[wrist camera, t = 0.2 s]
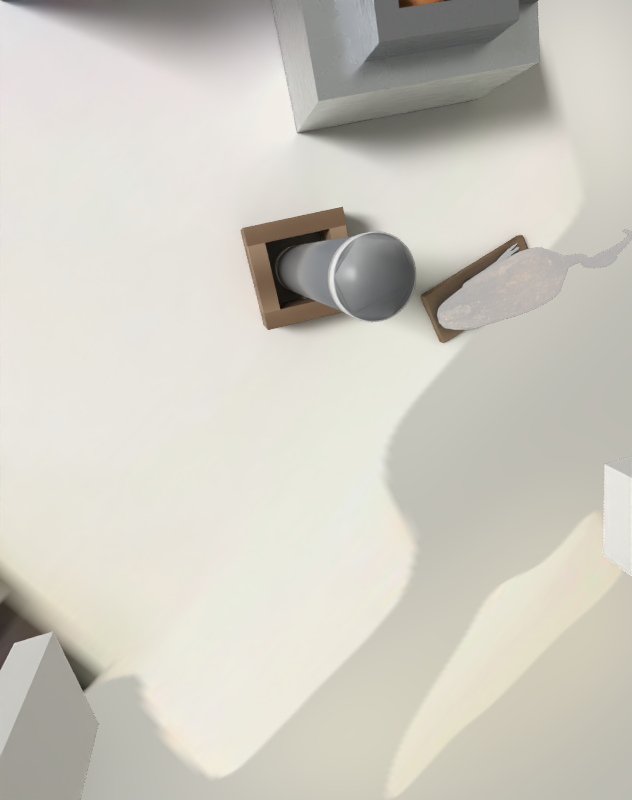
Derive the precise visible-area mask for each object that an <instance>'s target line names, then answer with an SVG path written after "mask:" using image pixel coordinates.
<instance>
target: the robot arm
mask: <svg viewBox="0 0 632 800" xmlns="http://www.w3.org/2000/svg"><path fill="white" fill-rule="evenodd" d="M604 477H605V479H604V521H603V555H604V556H605V557H606V558H608V559H609V560H610V561H612V562H613V563H614V564H616V565H617V566H618V567H620V568H621V569H622V570H623V571H625V572H626V573H627V574H629V575H630V576H631V577H632V456H629V457H626V458H623V459H619V460H616V461H613V462H609V463H606V464H605V474H604ZM98 725H99V723H98V721H97V720H96V717H95V715H94V713H93V711H92V709H91V707H90V705H89V703H88V701H87V699H86V697H85V695H84V693H83V691H82V689H81V687H80V685H79V683H78V681H77V679H76V677H75V675H74V673H73V671H72V669H71V667H70V665H69V663H68V661H67V659H66V657H65V655H64V652H63V650H62V648H61V646H60V644H59V642H58V640H57V638H56V636H55V634H54V632H50V633H47V634H43V635H40V636H37V637H34V638H30V639H27V640H24V641H20V642H17V643H14V645H13V647H12V649H11V651H10V653H9V655H8V657H7V659H6V661H5V663H4V665H3V667H2V668H1V670H0V800H81V796H82V791H83V787H84V783H85V779H86V775H87V771H88V766H89V762H90V758H91V754H92V750H93V746H94V742H95V737H96V733H97V729H98Z"/></svg>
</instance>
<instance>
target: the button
mask: <svg viewBox="0 0 632 800" xmlns="http://www.w3.org/2000/svg"><path fill="white" fill-rule="evenodd" d="M443 1H444V0H398V2H399V8H404V7H410V6H417V5H423V4H430V3H436V2H443Z"/></svg>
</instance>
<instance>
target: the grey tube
mask: <svg viewBox="0 0 632 800" xmlns="http://www.w3.org/2000/svg"><path fill="white" fill-rule="evenodd" d="M275 273H276V277H277V279H278V281H279V282H280V284H281V285H282V286H283V287H285V288H286V289H288V290H290V291H293V292H295V293H298V294H300V295H303V296H305V297H308V298H310V299H313V300H315V301H317V302H320V303H322V304H325V305H327V306H330V307H332V308H335V309H337V310H340V311H342V312H344V313H346V314H347V315H349V316H351V317H354V318H356V319H359V320H361V321H365V322H379V321H383V320H387V319H389V318H391V317H393V316H394V315H396V314H397V313H398V312H400V311H401V310H402V309H403V308H404V307H405V305H406V304H407V303H408V301H409V299H410V298H411V296H412V293H413V291H414V287H415V282H416V267H415V262H414V259H413V256H412V254H411V252H410V251H409V249H408V248H407V246H406V245H405V244H404V243H403V242H402V241H401V240H400V239H398V238H397V237H395V236H393V235H391V234H388V233H385V232H367V233H361V234H358V235H355V236H351V237H344V238H338V239H332V240H326V241H319V242H313V243H307V244H301V245H295V246H290V247H288V248H286V249H284V250H283V251H282V252H281V253H280V255H279V256H278V258H277V260H276V264H275Z"/></svg>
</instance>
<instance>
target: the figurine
mask: <svg viewBox="0 0 632 800" xmlns="http://www.w3.org/2000/svg"><path fill="white" fill-rule="evenodd" d="M623 232H625V233H627V234H628V235H627V237H626V238H625V239H624V240H623V241H621V242H620V243H618V244H617V245H615V246H614V247H612V248H611V249H609V250H607V251H603V252H601V253H599V254H597V255H596V256H594V257H592V258H588V257H587V256H586V255H584V254H574V255H566V256H563V255H561V254H558V253H556V252H552V251H549V250H547V249H544V248H541V247H537V248H530V249H528V248H527V246H526V243H525V240H524V238H523V236H522V235H519V236H516V237H514V238H513V239H511V240H509V241H508V242H506V243H505V244H503V245H501V246H500V247H498V248H497V249H495V250H493V251H492V252H490V253H489V254H487V255H485V256H484V257H482V258H480V259H479V260H477V261H476V262H474V263H472V264H471V265H469V266H468V267H466V268H464V269H463V270H461V271H459V272H458V273H456V274H455V275H453V276H451V277H450V278H448V279H447V280H445V281H443V282H442V283H440V284H439V285H437V286H435V287H434V288H432V289H431V290H429V291H427V292H426V293H424V294H423V295H421V299H422V301H423V304H424V306H425V308H426V311H427V313H428V315H429V317H430V320H431V322H432V324H433V327H434V329H435V331H436V334H437V336H438V338H439V341H440V342H442V343H444V342H446V341H448V340H450V339H451V338H453V337H454V336H456V335H458V334H459V333H461V332H462V331H464V330H469V329H474V328H477V327H481V326H484V325H488V324H491V323H494V322H497V321H500V320H504V319H507V318H510V317H514V316H517V315H520V314H523V313H525V312H528V311H530V310H533V309H535V308H537V307H539V306H541V305H543V304H545V303H547V302H548V301H550V300H551V299H553V298H554V297H555V296H556V295H557V294H558V293H559V292H560V290H561V287H562V284H563V281H564V279H565V275H566V272H567V270H568V267H570V266H572V265H574V264H577V263H581V264H582V265H583V266H584V267H588V268H601V267H606V266H608V265H610V264H611V263H613V262H614V261H615V260H616V258H617V255H618V254H619V253H620V252H621V251H622V250H623V248H625V247H626V246H627V244H628V243H629V242H630V240H631V239H632V232H631V231H629V230H625V229H624V230H623Z"/></svg>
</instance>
